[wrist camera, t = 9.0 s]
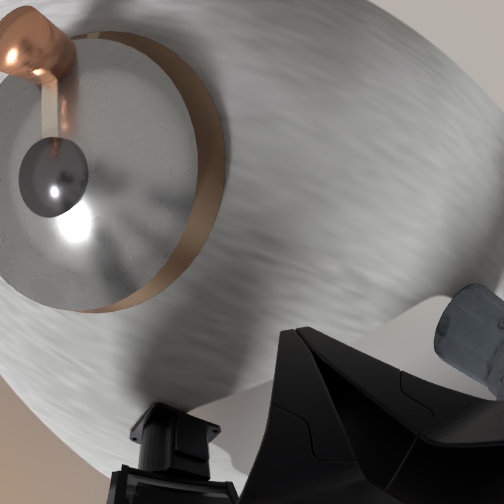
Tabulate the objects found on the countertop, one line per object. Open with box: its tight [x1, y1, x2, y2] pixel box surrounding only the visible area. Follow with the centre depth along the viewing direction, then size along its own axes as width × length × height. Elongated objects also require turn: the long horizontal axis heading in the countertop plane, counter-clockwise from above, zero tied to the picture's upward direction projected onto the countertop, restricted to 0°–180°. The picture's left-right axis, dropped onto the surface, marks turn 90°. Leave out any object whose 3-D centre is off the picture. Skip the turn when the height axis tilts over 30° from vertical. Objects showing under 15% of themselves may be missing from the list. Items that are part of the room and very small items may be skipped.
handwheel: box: [0, 6, 198, 311], centre depth 11 cm, size 16×15×7 cm
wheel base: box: [70, 31, 225, 313], centre depth 15 cm, size 18×18×1 cm
